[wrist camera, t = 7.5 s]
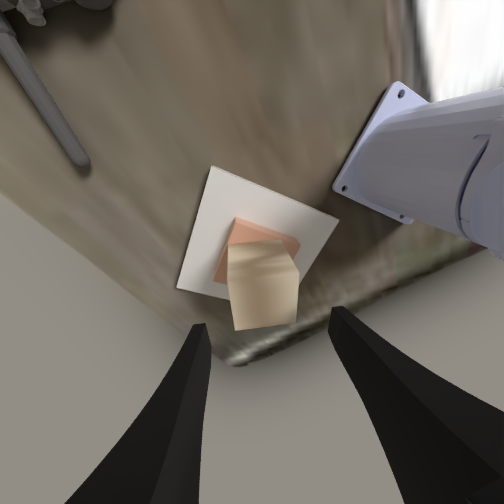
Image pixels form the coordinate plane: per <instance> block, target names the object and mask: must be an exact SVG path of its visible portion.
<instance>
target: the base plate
mask: <svg viewBox="0 0 504 504" xmlns="http://www.w3.org/2000/svg"><path fill="white" fill-rule="evenodd" d="M339 221H340V220H339V219H337V218H335V217H334V216H331V215H329V214H327V213H324V212H322V211H319V210H317V209H315V208H312V207H310V206H308V205H305V204H303V203H300V202H298V201H296V200H293V199H291V198H289V197H286V196H284V195H282V194H279V193H277V192H274V191H272V190H270V189H267V188H265V187H263V186H260V185H258V184H256V183H253V182H251V181H248V180H246V179H244V178H241V177H239V176H237V175H234V174H232V173H230V172H227V171H225V170H222V169H220V168H218V167H215V166H213V165H212V166H211V169H210V173H209V176H208V180H207V183H206V186H205V190H204V193H203V197H202V200H201V204H200V207H199V211H198V214H197V218H196V221H195V225H194V228H193V232H192V235H191V238H190V242H189V245H188V249H187V252H186V256H185V259H184V263H183V266H182V270H181V273H180V277H179V280H178V284H177V287H176V288H180V289H184V290H189V291H193V292H197V293H201V294H205V295H210V296H214V297H218V298H222V299H227V300H230V296H229V289H228V283H227V268H228V244H235V243H245V242H255V241H265V240H275V239H281V241H282V242H283V244H284V246H285V248H286V250H287V251H288V253H289V255H290V257H291V259H292V260H293V262H294V264H295V266H296V268H297V269H298V271H299V284H300V282H301V281H302V279H303V278H304V276H305V274H306V273H307V271H308V270H309V268H310V267H311V265H312V263H313V262H314V260H315V259H316V257H317V255H318V254H319V252H320V251H321V249H322V248H323V246H324V244H325V243H326V241H327V240H328V238H329V236H330V235H331V233H332V232H333V230H334V229H335V227H336V225H337V224H338V222H339Z"/></svg>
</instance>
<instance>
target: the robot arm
mask: <svg viewBox="0 0 504 504" xmlns="http://www.w3.org/2000/svg"><path fill="white" fill-rule="evenodd" d="M399 91H400V93H401V95H400V97H399V98H398V92H399ZM343 186H345V189H344V190H343V191H342V187H343ZM332 189H333V190H334V191H335V192H337V193H339V194H341V195H343V196H346V197H348V198H350V199H352V200H354V201H356V202H358V203H361V204H363V205H365V206H367V207H369V208H371V209H373V210H376V211H378V212H380V213H382V214H384V215H386V216H388V217H391V218H393V219H395V220H397V221H399V222H401V223H404V224H406V225H408V224H410V223H412V222H413V221H414V219H415V220H418V221H420V222H423V223H426V224H428V225H431V226H434V227H436V228H439V229H441V230H444V231H447V232H449V233H452V234H455V235H457V236H460V237H463V238H465V239H468V240H470V241H473V242H475V243H478V244H480V245H483V246H485V247H488V248H489V250H490V251H491V256H493V257H495V258H498V259H500V260H502V261H504V87H500V88H495V89H491V90H487V91H482V92H478V93H474V94H469V95H465V96H460V97H456V98H452V99H447V100H443V101H439V102H434V103H428V102H427V101H426V100H424V99H423V98H421V97H420V96H419V95H417V94H416V93H415V92H413V91H412V90H411V89H409V88H408V87H407V86H405V85H404V84H402V83H401V82H399V81H398V82H394V83H392V84H391V85H389V87H388V88H387V90H386V92H385V93H384V95H383V97H382V99H381V100H380V102H379V104H378V106H377V107H376V109H375V111H374V113H373V115H372V116H371V118H370V120H369V122H368V123H367V125H366V127H365V129H364V130H363V132H362V134H361V136H360V137H359V139H358V141H357V143H356V145H355V146H354V148H353V150H352V152H351V153H350V155H349V157H348V159H347V160H346V162H345V164H344V166H343V167H342V169H341V171H340V173H339V175H338V176H337V178H336V180H335V182H334V183H333V186H332ZM401 214H402V215H401ZM400 215H401V217H400ZM328 333H329V336H330V339H331V341H332V343H333V346H334V348H335V351H336V352H337V354H338V356H339V358H340V360H341V362H342V364H343V366H344V367H345V369H346V371H347V373H348V375H349V377H350V378H351V380H352V382H353V384H354V386H355V388H356V389H357V391H358V393H359V395H360V397H361V399H362V401H363V403H364V405H365V408H366V410H367V412H368V414H369V417H370V419H371V421H372V423H373V425H374V428H375V430H376V433H377V435H378V437H379V440H380V442H381V445H382V447H383V449H384V452H385V454H386V457H387V459H388V462H389V464H390V467H391V469H392V472H393V474H394V477H395V479H396V482H397V484H398V487H399V490H400V493H401V495H402V498H403V501H404V503H405V504H504V412H503V411H501V410H499V409H497V408H495V407H493V406H492V405H490V404H488V403H486V402H484V401H482V400H480V399H478V398H477V397H475V396H473V395H471V394H469V393H467V392H466V391H463V390H462V389H460V388H459V387H457V386H455V385H453V384H452V383H450V382H448V381H446V380H445V379H443V378H441V377H440V376H438V375H436V374H435V373H433V372H431V371H430V370H428V369H427V368H425V367H424V366H422V365H421V364H419V363H418V362H416V361H414V360H413V359H411V358H410V357H408V356H407V355H405V354H404V353H402V352H401V351H400V350H398V349H397V348H396V347H394V346H393V345H391V344H390V343H389V342H387V341H386V340H385V339H383V338H382V337H380V336H379V335H378V334H377V333H376V332H374V331H373V330H372V329H370V328H369V327H368V326H367V325H365V324H364V323H363V322H362V321H360V320H359V319H358V318H357V317H355V316H354V315H353V314H352V313H351V312H349V311H348V310H347V309H346V308H345V307H343V306H338V307H332V311H331V316H330V322H329V327H328ZM211 348H212V347H211V343H210V339H209V336H208V332H207V328H206V324H205V323H203V324H195V325H193V326H192V328H191V330H190V332H189V334H188V336H187V339H186V340H185V343H184V344H183V346H182V348H181V350H180V352H179V353H178V355H177V357H176V359H175V361H174V362H173V364H172V366H171V367H170V369H169V371H168V372H167V374H166V376H165V377H164V379H163V380H162V382H161V383H160V385H159V387H158V388H157V389H156V391H155V393H154V394H153V395H152V397H151V398H150V400H149V401H148V403H147V404H146V405H145V407H144V408H143V410H142V411H141V412H140V414H139V415H138V416H137V418H136V419H135V420H134V422H133V423H132V424H131V426H130V427H129V428H128V430H127V431H126V432H125V433H124V435H123V436H122V437H121V438H120V440H119V441H118V442H117V444H116V445H115V446H114V447H113V448H112V449H111V451H110V452H109V453H108V454H107V455H106V457H105V458H104V459H103V460H102V461H101V463H100V464H99V465H98V466H97V468H96V469H95V470H94V471H93V472H92V473H91V475H90V476H89V477H88V478H87V479H86V480H85V481H84V482H83V484H82V485H81V486H80V487H79V488H78V489H77V490H76V491H75V493H74V494H73V495H72V496H71V497H70V498H69V499H68V500H67V501H66V502H65V504H199V480H200V462H201V445H202V430H203V420H204V412H205V404H206V397H207V390H208V382H209V375H210V369H211Z"/></svg>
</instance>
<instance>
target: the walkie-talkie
mask: <svg viewBox="0 0 504 504" xmlns="http://www.w3.org/2000/svg"><path fill="white" fill-rule="evenodd" d="M69 1H72V0H0V53H1V55H2V57H3V58H4V60H5V61H6V63H7V64H8V66H9V67H10V69H11V70H12V72H13V73H14V75H15V76H16V78H17V79H18V81H19V82H20V84H21V85H22V87H23V88H24V90H25V91H26V93H27V94H28V96H29V97H30V99H31V100H32V102H33V103H34V105H35V106H36V108H37V109H38V111H39V112H40V114H41V115H42V117H43V118H44V120H45V121H46V123H47V124H48V126H49V127H50V129H51V130H52V132H53V133H54V135H55V136H56V138H57V139H58V141H59V142H60V144H61V145H62V147H63V148H64V150H65V151H66V153H67V155H68V156H69V158H70V159H71V161H72V162H73V163H74V164H75V165H77V166H79V167H87V166H89V164H90V158H89V157H88V155H87V153H86V152H85V150H84V149H83V147H82V145H81V144H80V142H79V141H78V139H77V137H76V136H75V134H74V132H73V131H72V129H71V128H70V126H69V124H68V123H67V121H66V120H65V118H64V116H63V115H62V113H61V111H60V110H59V108H58V107H57V105H56V103H55V102H54V100H53V99H52V97H51V95H50V94H49V92H48V90H47V89H46V87H45V86H44V84H43V82H42V81H41V79H40V78H39V76H38V74H37V73H36V71H35V69H34V68H33V66H32V65H31V63H30V61H29V60H28V58H27V57H26V55H25V53H24V52H23V50H22V48H21V47H20V45H19V44H18V42H17V40H16V39H17V35H16V33H15V32H14V30H13V28H12V27H11V25H10V24H9V22H8V20H7V19H6V17H5V16H4V14H3V12H4V11H7V10H10V9H13V8H17V10H18V11H20V12H21V13H23V14H24V16H25V18H26V19H27V21H28V22H29V23H30V24H32V25H35V26H44V25H45V24H46V20H45V19H44V17H43V15H42V14H43V12H44V10H46V9H49V8H52V7H54V6H57V5H60V4H63V3H66V2H69ZM113 1H114V0H75V2H77V3H78V4H80V5H81V6H82V7H85V8H87V9H93V10H103V9H106V8H108V7H109V6H110V5H111V4H112V2H113Z"/></svg>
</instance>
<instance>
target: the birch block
mask: <svg viewBox="0 0 504 504" xmlns="http://www.w3.org/2000/svg"><path fill="white" fill-rule="evenodd" d="M227 283H228V289H229V296H230V302H231V308H232V315H233V321H234V327H235V331H237V330H245V329H253V328H261V327H269V326H277V325H284V324H292V323H296V316H297V301H298V287H299V271H298V269H297V268H296V266H295V264H294V262H293V260H292V259H291V257H290V255H289V253H288V251H287V250H286V248H285V246H284V244H283V242H282V241H281V239H275V240H265V241H255V242H245V243H235V244H228V268H227Z"/></svg>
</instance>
